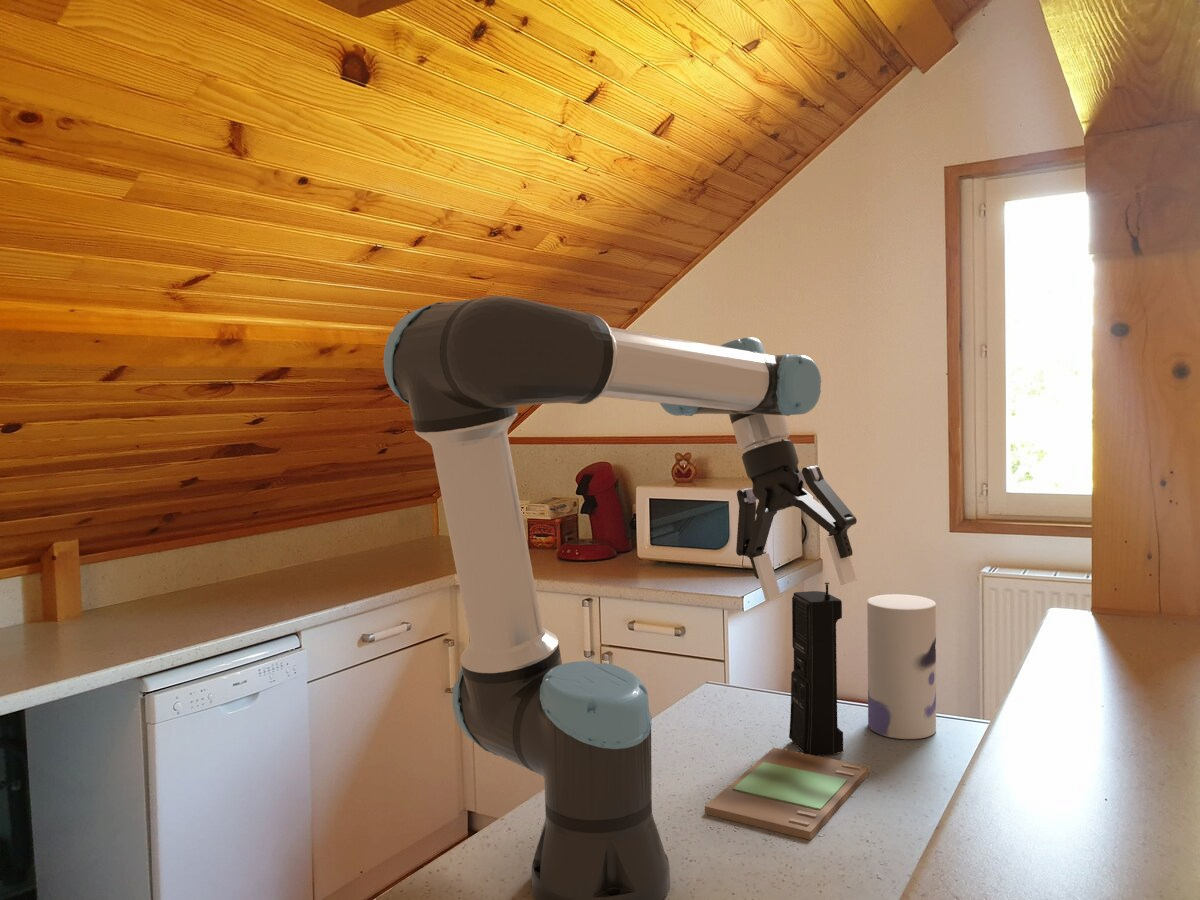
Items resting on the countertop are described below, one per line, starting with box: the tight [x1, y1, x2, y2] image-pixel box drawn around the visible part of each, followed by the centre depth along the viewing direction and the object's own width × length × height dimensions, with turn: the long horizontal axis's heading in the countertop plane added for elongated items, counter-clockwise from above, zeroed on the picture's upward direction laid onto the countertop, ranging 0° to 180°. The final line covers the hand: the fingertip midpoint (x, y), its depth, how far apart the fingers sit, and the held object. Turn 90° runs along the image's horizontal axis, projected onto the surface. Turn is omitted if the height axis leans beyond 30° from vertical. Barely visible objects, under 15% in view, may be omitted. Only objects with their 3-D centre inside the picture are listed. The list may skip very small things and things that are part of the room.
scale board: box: [704, 747, 870, 841], centre depth 128 cm, size 22×14×1 cm, turn 147°
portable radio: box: [788, 582, 844, 757], centre depth 143 cm, size 8×6×25 cm
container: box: [866, 593, 937, 740], centre depth 149 cm, size 10×10×20 cm
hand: (810, 591), depth 135 cm, fingers open, 13 cm apart
